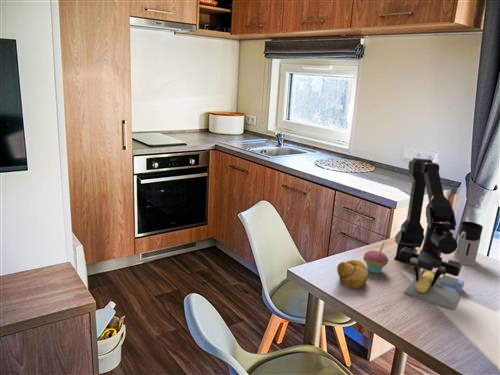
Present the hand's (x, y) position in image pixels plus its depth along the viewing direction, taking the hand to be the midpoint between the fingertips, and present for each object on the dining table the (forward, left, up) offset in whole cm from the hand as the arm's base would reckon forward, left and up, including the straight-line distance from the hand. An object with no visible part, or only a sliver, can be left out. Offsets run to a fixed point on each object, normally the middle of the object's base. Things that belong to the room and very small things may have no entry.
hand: (424, 283), depth 142 cm
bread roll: (-20, -13, -2) cm, 24 cm away
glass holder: (+6, +33, -2) cm, 34 cm away
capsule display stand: (+3, 0, -2) cm, 4 cm away
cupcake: (-18, +1, -2) cm, 18 cm away
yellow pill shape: (0, 0, -1) cm, 1 cm away
